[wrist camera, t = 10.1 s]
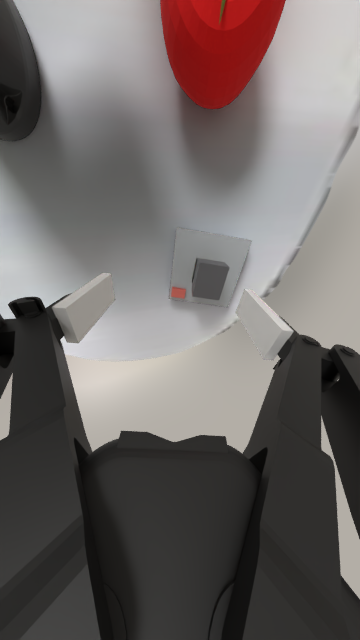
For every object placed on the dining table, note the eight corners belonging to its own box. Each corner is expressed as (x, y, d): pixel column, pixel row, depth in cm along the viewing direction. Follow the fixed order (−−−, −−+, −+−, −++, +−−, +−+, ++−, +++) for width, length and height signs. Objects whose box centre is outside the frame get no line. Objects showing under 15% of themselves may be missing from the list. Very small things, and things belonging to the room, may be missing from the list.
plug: (195, 253, 31) (199, 262, 23) (218, 257, 31) (229, 267, 24) (190, 280, 34) (192, 296, 27) (211, 284, 34) (219, 300, 27)
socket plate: (177, 227, 28) (176, 227, 25) (246, 239, 29) (253, 240, 26) (169, 293, 36) (168, 300, 33) (224, 301, 37) (228, 309, 34)
